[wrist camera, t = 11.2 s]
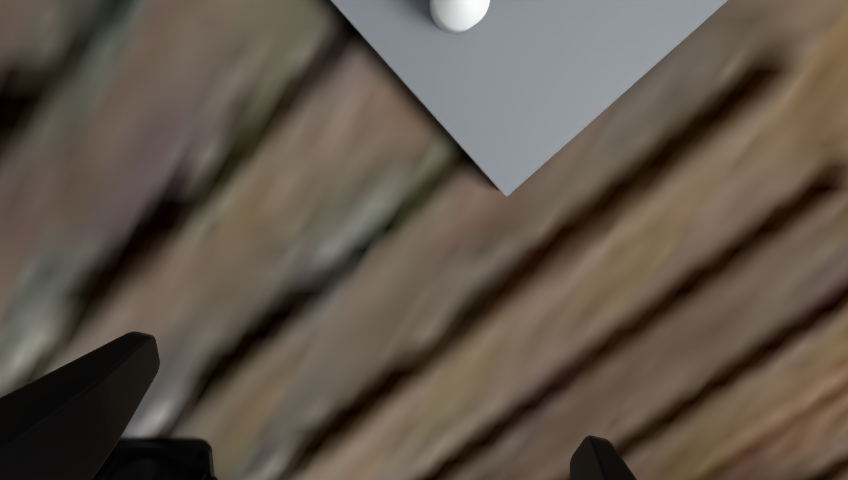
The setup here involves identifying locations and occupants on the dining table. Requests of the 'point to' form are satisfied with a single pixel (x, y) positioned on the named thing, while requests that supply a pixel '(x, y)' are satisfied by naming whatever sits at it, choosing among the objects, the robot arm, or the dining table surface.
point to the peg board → (521, 65)
